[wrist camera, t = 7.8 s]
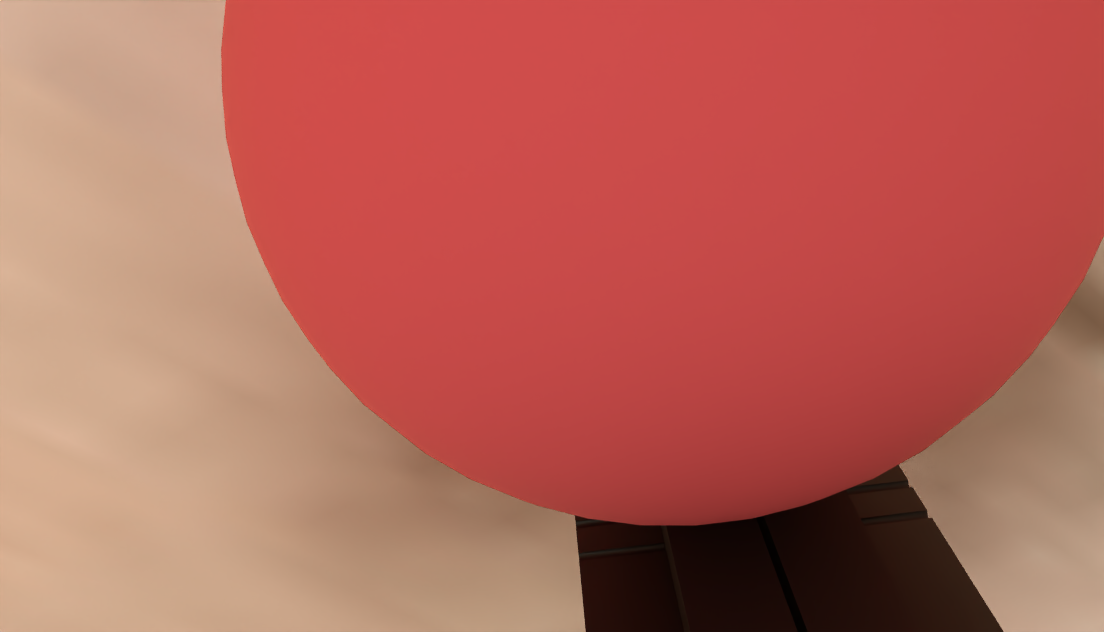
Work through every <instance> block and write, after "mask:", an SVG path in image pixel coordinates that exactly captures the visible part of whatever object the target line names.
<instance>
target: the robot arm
mask: <svg viewBox="0 0 1104 632" xmlns="http://www.w3.org/2000/svg"><path fill="white" fill-rule="evenodd" d="M575 520H576V531H577V542H578V552H579V563H580V574H581V585H582V595H583V606H584V617H585V628H586V632H1003V630H1002V628H1001V627H1000V625H999V624H998V622H997V621H996V619H995V617H994V616H993V614H992V613H991V611H990V609H989V608H988V606H987V605H986V603H985V601H984V600H983V598H982V597H981V595H980V594H979V592H978V590H977V589H976V587H975V586H974V584H973V582H972V581H971V579H970V578H969V576H968V575H967V573H966V571H965V570H964V568H963V567H962V565H961V563H960V562H959V560H958V559H957V557H956V555H955V554H954V552H953V551H952V549H951V548H950V546H949V544H948V543H947V541H946V540H945V538H944V536H943V535H942V533H941V532H940V530H939V529H938V527H937V525H936V524H935V522H934V521H933V519H932V518H928V515H927V509H926V508H925V506H924V505H923V503H922V502H921V500H920V498H919V497H918V495H917V494H916V492H915V490H914V489H913V487H910V488H909V485H908V479H907V478H906V476H905V475H904V473H903V471H902V470H901V468H900V467H899V465H897V466H895V467H893V468H891V469H890V470H888V471H886V472H884V473H883V474H881V475H879V476H877V477H875V478H874V479H871V480H869V481H866V482H864V483H861V484H858V485H856V486H853V487H851V488H848V489H846V490H843V491H841V492H838V493H836V494H833V495H831V496H828V497H826V498H823V499H821V500H818V501H815V502H812V503H809V504H807V505H804V506H800V507H796V508H792V509H788V510H784V511H780V512H776V513H772V514H768V515H764V516H760V517H756V518H752V519H745V520H737V521H729V522H721V523H712V524H704V525H635V524H627V523H619V522H611V521H604V520H596V519H588V518H584V517H580V516H576V515H575Z"/></svg>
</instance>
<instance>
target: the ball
mask: <svg viewBox="0 0 1104 632" xmlns="http://www.w3.org/2000/svg"><path fill="white" fill-rule="evenodd" d="M221 58H222V93H223V105H224V118H225V130H226V139H227V144H228V148H229V153H230V158H231V162H232V167H233V171H234V176H235V180H236V184H237V187H238V191H239V195H240V199H241V202H242V206H243V210H244V214H245V217H246V221H247V224H248V226H249V229H250V231H251V233H252V236H253V238H254V240H255V243H256V245H257V247H258V250H259V252H260V254H261V257H262V259H263V261H264V264H265V266H266V268H267V270H268V272H269V274H270V276H271V278H272V280H273V282H274V284H275V286H276V288H277V291H278V293H279V295H280V297H281V299H282V301H283V302H284V304H285V305H286V307H287V308H288V310H289V311H290V313H291V314H292V316H293V317H294V319H295V321H296V322H297V324H298V325H299V327H300V328H301V330H302V331H303V333H304V334H305V336H306V337H307V339H308V340H309V341H310V343H311V344H312V345H313V347H314V348H315V349H316V351H317V352H318V353H319V354H320V356H321V357H322V358H323V360H324V361H325V362H326V364H327V365H328V366H329V367H330V369H331V370H332V371H333V372H334V373H335V374H336V375H337V376H338V377H339V378H340V379H341V381H342V382H343V383H344V384H345V385H346V386H347V387H348V388H349V389H350V390H351V391H352V392H353V393H354V395H355V396H356V397H357V398H358V399H359V400H360V401H361V402H362V403H363V404H364V405H365V406H366V407H368V408H369V409H370V410H371V411H373V412H374V413H375V414H376V415H378V416H379V417H380V418H381V419H383V420H384V421H385V422H386V423H388V424H389V425H390V426H391V427H393V428H394V429H395V430H396V431H398V432H399V433H400V434H402V435H403V436H404V437H405V438H407V439H408V440H409V441H410V442H412V443H413V444H414V445H416V446H417V447H418V448H419V449H421V450H422V451H423V452H424V453H426V454H427V455H429V456H431V457H433V458H434V459H436V460H438V461H440V462H441V463H443V464H445V465H447V466H448V467H450V468H452V469H454V470H455V471H457V472H459V473H461V474H462V475H464V476H466V477H467V478H469V479H471V480H473V481H476V482H478V483H481V484H483V485H486V486H488V487H491V488H493V489H496V490H498V491H501V492H503V493H506V494H508V495H511V496H513V497H515V498H518V499H520V500H523V501H526V502H529V503H532V504H535V505H538V506H542V507H545V508H549V509H553V510H557V511H561V512H565V513H568V514H572V515H576V516H580V517H584V518H588V519H596V520H604V521H611V522H619V523H627V524H635V525H704V524H712V523H721V522H729V521H737V520H745V519H752V518H756V517H760V516H764V515H768V514H772V513H776V512H780V511H784V510H788V509H792V508H796V507H800V506H804V505H807V504H809V503H812V502H815V501H818V500H821V499H823V498H826V497H828V496H831V495H833V494H836V493H838V492H841V491H843V490H846V489H848V488H851V487H853V486H856V485H858V484H861V483H864V482H866V481H869V480H871V479H874V478H875V477H877V476H879V475H881V474H883V473H884V472H886V471H888V470H890V469H891V468H893V467H895V466H897V465H899V464H900V463H902V462H904V461H906V460H907V459H909V458H911V457H913V456H914V455H916V454H918V453H920V452H922V451H923V450H925V449H926V448H927V447H929V446H930V445H931V444H932V443H934V442H935V441H936V440H938V439H939V438H940V437H941V436H943V435H944V434H945V433H947V432H948V431H949V430H950V429H952V428H953V427H954V426H956V425H957V424H958V423H960V422H961V421H962V420H963V419H965V418H966V417H967V416H968V415H970V414H971V413H972V412H973V411H975V410H976V409H977V408H978V407H980V406H981V405H982V404H983V403H984V402H986V401H987V400H988V399H989V398H991V397H992V396H993V395H994V394H995V393H996V392H997V391H998V390H999V388H1000V387H1001V386H1002V385H1003V384H1004V383H1005V382H1006V381H1007V380H1008V379H1009V378H1010V377H1011V376H1012V375H1013V374H1014V373H1015V371H1016V370H1017V369H1018V368H1019V367H1020V366H1021V365H1022V364H1023V363H1024V362H1025V361H1026V360H1027V359H1028V358H1029V357H1030V355H1031V354H1032V353H1033V351H1034V350H1035V349H1036V347H1037V346H1038V345H1039V343H1040V342H1041V341H1042V339H1043V338H1044V337H1045V335H1046V334H1047V333H1048V331H1049V330H1050V329H1051V327H1052V326H1053V325H1054V323H1055V322H1056V320H1057V319H1058V317H1059V316H1060V314H1061V313H1062V311H1063V310H1064V308H1065V307H1066V305H1067V304H1068V302H1069V301H1070V299H1071V298H1072V296H1073V295H1074V293H1075V292H1076V290H1077V289H1078V287H1079V286H1080V284H1081V283H1082V281H1083V280H1084V278H1085V275H1086V273H1087V271H1088V269H1089V267H1090V265H1091V262H1092V260H1093V258H1094V256H1095V254H1096V251H1097V249H1098V247H1099V245H1100V243H1101V240H1102V238H1103V236H1104V0H226V5H225V16H224V27H223V38H222V49H221Z"/></svg>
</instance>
